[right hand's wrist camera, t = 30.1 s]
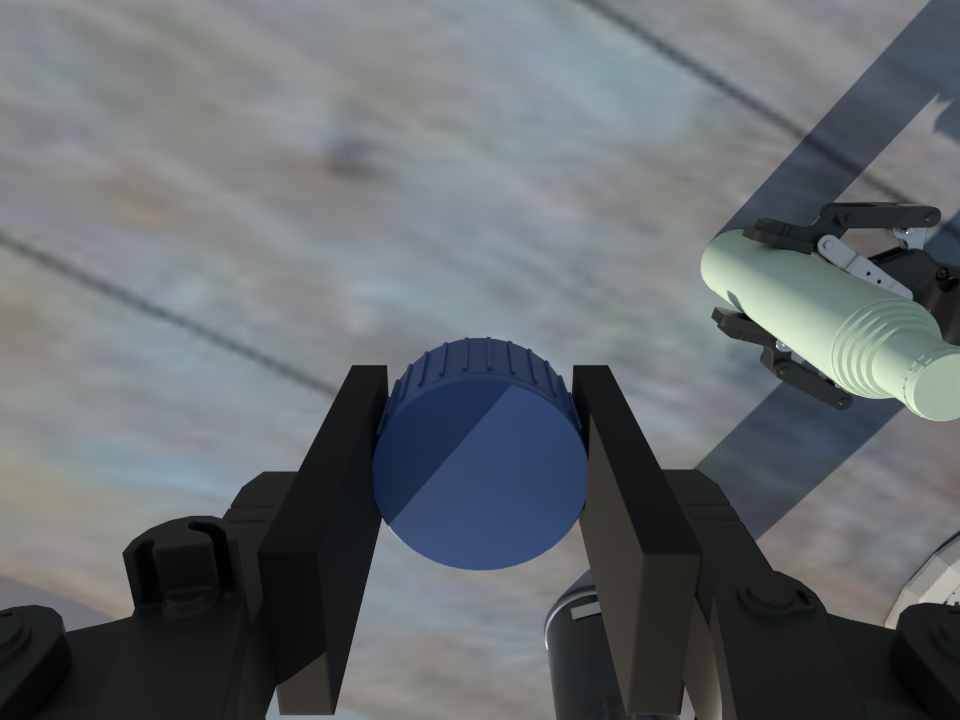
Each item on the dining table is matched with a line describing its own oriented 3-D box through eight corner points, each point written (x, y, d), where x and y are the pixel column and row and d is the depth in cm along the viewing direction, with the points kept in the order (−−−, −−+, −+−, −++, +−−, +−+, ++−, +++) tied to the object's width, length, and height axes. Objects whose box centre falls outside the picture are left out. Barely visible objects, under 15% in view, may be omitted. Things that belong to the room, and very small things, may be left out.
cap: (349, 451, 15) (326, 510, 13) (449, 296, 14) (443, 332, 11) (507, 537, 16) (511, 606, 13) (614, 398, 14) (638, 450, 12)
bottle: (780, 248, 47) (1041, 364, 25) (740, 305, 49) (954, 461, 27) (726, 216, 46) (946, 307, 25) (687, 275, 48) (862, 410, 26)
